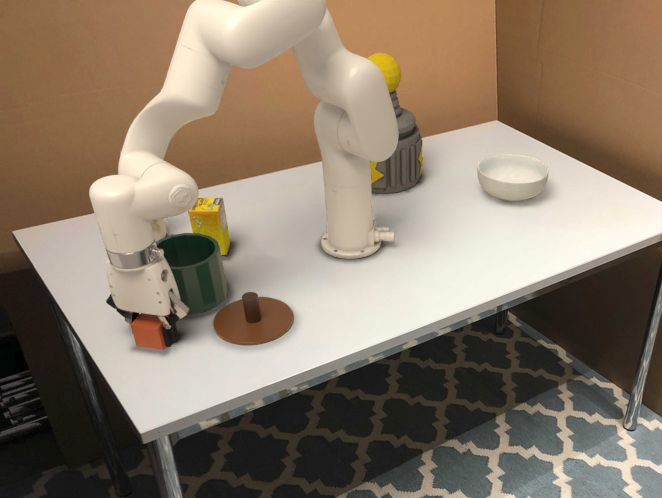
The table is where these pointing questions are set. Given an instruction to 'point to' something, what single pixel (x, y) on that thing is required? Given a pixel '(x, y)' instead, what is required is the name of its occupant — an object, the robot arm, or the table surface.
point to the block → (148, 331)
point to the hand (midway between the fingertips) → (156, 339)
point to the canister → (196, 270)
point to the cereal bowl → (512, 176)
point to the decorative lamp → (408, 153)
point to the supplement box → (211, 221)
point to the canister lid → (253, 320)
